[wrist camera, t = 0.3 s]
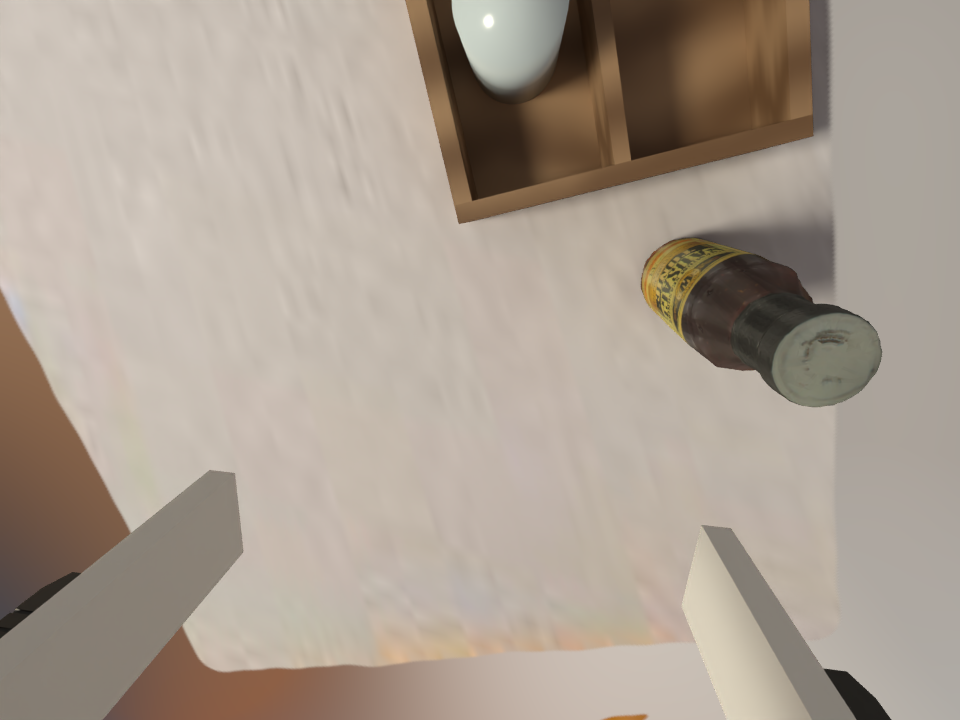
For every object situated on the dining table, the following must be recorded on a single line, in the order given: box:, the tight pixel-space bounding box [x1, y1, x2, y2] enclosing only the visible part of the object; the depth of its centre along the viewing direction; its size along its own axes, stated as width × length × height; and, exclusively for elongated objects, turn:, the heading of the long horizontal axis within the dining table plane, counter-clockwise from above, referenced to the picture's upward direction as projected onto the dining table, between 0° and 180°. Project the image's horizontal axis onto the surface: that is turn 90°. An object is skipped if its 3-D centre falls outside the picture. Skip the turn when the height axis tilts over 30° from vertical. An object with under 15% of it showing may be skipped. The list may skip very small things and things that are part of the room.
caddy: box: [405, 0, 813, 224], centre depth 29 cm, size 20×22×6 cm
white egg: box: [452, 0, 569, 104], centre depth 28 cm, size 6×6×9 cm
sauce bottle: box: [641, 238, 882, 407], centre depth 27 cm, size 6×6×20 cm
